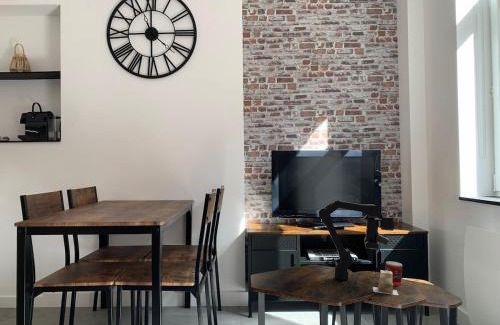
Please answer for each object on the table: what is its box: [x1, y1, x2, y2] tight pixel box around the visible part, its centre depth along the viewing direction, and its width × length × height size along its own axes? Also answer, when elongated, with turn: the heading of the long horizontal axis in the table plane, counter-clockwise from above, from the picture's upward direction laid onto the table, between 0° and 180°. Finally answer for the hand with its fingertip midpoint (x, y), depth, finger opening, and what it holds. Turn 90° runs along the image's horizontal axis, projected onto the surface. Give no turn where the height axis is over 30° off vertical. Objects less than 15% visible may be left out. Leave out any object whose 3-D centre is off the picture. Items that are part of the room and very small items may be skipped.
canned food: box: [384, 260, 403, 287], centre depth 195 cm, size 8×8×11 cm
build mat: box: [372, 286, 399, 296], centre depth 180 cm, size 11×8×1 cm
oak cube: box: [379, 269, 393, 285], centre depth 180 cm, size 5×5×5 cm
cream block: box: [377, 279, 394, 295], centre depth 180 cm, size 6×6×4 cm
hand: (370, 259), depth 195 cm, fingers open, 9 cm apart
